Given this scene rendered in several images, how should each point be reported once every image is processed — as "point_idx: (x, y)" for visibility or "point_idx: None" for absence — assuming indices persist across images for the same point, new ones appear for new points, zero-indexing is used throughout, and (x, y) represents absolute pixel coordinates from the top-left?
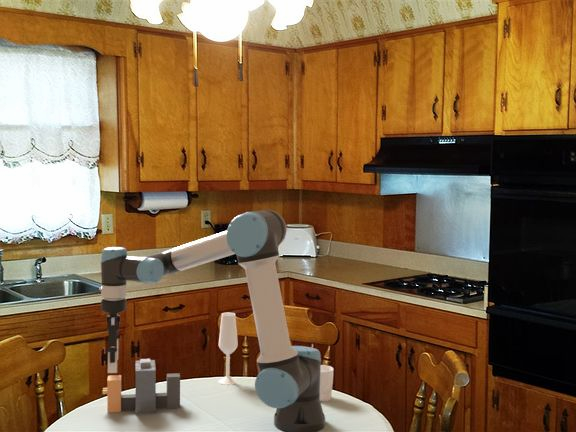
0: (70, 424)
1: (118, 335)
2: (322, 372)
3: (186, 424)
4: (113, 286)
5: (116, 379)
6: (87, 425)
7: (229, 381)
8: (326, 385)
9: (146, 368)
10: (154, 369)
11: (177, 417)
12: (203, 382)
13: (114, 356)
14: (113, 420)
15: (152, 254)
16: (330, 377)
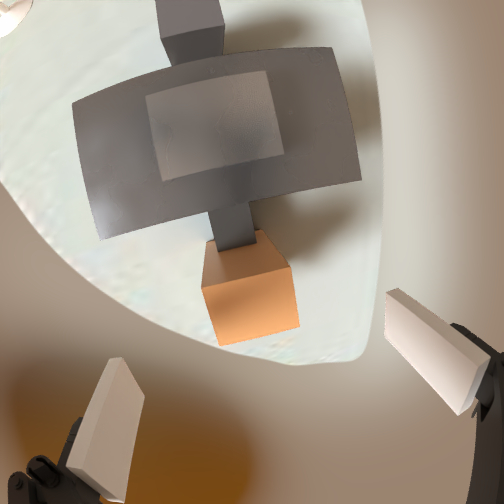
0: (353, 333)
1: (39, 478)
2: None
3: (349, 28)
4: None
5: (280, 291)
6: (364, 292)
7: (23, 3)
8: None
9: (298, 107)
10: (315, 53)
11: (300, 44)
12: (4, 63)
13: (484, 344)
14: (334, 233)
15: None
16: None
